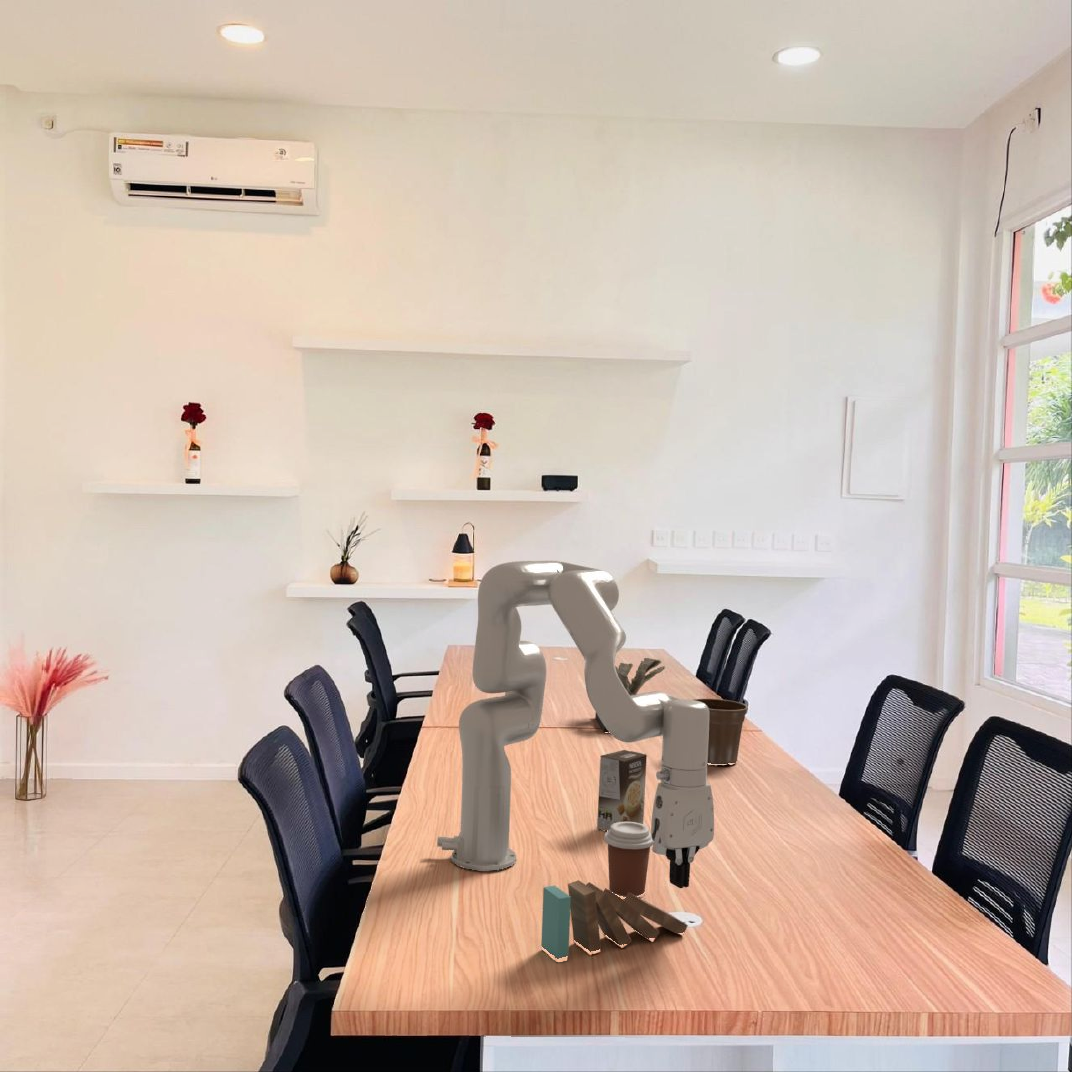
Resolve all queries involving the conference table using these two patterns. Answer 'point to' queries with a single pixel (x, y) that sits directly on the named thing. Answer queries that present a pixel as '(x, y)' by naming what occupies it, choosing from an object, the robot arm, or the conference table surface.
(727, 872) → the conference table surface
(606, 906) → the domino
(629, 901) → the domino
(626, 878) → the coffee cup
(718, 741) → the plant pot
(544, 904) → the teal domino
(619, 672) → the coral
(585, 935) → the domino
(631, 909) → the domino
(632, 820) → the coffee box
